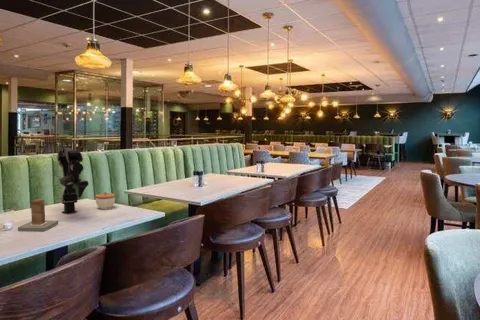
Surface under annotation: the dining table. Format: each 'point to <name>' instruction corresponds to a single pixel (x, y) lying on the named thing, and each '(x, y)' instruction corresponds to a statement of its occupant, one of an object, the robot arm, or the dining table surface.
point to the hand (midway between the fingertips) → (74, 196)
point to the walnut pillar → (38, 211)
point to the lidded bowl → (105, 200)
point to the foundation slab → (38, 226)
